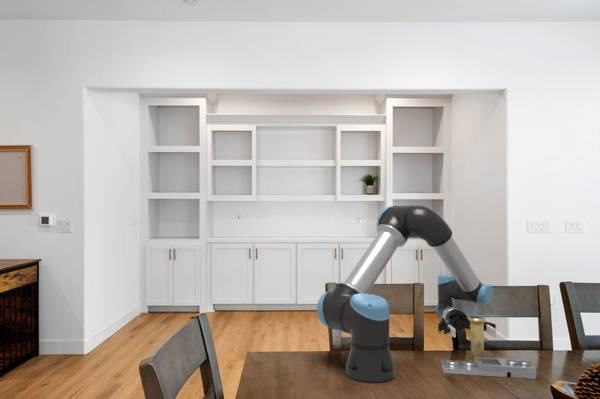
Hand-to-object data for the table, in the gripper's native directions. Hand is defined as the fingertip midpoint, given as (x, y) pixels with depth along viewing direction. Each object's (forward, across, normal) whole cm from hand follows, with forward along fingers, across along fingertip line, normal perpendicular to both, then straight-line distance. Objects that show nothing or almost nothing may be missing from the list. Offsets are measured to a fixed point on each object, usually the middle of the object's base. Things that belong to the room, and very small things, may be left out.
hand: (474, 333), depth 154 cm
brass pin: (+4, +1, -8) cm, 9 cm away
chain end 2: (+15, -3, -8) cm, 17 cm away
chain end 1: (+13, +5, -8) cm, 16 cm away
